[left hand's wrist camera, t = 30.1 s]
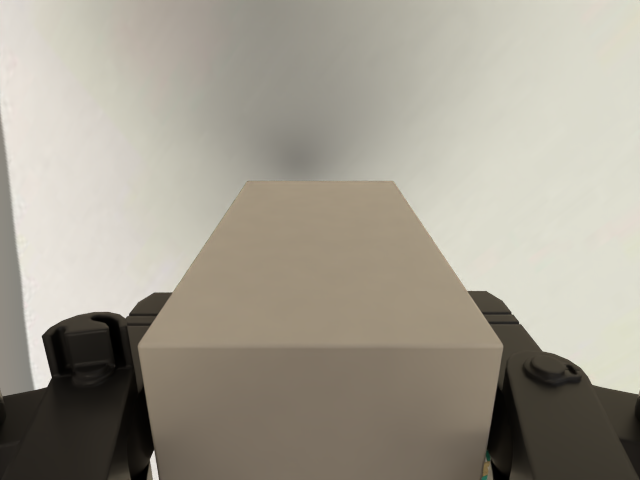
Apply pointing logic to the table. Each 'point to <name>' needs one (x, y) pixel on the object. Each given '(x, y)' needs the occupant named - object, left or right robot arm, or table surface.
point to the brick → (320, 346)
